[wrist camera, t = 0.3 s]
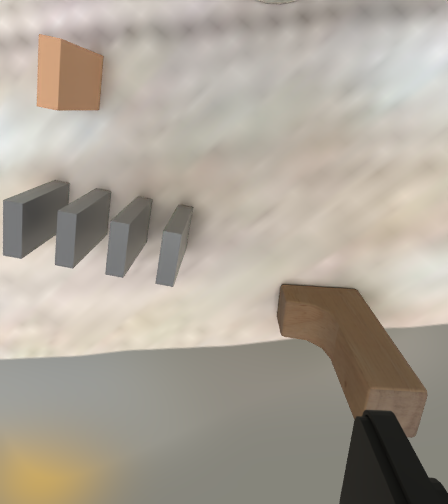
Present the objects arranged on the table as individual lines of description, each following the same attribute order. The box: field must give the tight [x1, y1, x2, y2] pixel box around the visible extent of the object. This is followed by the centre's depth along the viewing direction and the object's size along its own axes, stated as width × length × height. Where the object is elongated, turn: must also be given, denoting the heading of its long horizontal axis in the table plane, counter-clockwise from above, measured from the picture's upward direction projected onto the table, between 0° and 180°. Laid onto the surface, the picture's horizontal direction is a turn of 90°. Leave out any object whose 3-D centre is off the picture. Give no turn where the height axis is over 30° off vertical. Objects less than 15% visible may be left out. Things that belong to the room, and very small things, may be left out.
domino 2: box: [37, 34, 103, 110], centre depth 34 cm, size 5×2×10 cm, turn 169°
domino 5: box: [155, 205, 193, 287], centre depth 39 cm, size 5×2×10 cm, turn 169°
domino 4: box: [105, 197, 152, 278], centre depth 39 cm, size 5×2×10 cm, turn 169°
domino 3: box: [55, 188, 111, 268], centre depth 39 cm, size 5×2×10 cm, turn 169°
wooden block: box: [277, 285, 427, 437], centre depth 38 cm, size 9×4×18 cm, turn 86°
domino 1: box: [3, 180, 69, 259], centre depth 38 cm, size 5×2×10 cm, turn 169°
